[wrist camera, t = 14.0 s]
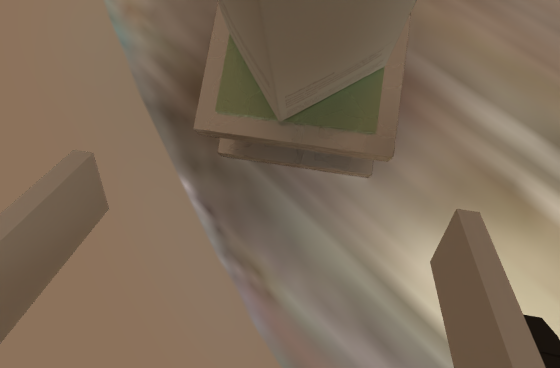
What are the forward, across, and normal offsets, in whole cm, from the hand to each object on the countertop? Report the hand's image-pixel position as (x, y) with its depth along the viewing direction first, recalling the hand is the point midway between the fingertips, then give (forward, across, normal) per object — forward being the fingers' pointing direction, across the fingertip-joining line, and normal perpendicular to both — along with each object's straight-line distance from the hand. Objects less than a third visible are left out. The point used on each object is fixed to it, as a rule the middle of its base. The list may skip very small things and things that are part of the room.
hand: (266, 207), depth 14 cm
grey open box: (+18, 0, -4) cm, 19 cm away
